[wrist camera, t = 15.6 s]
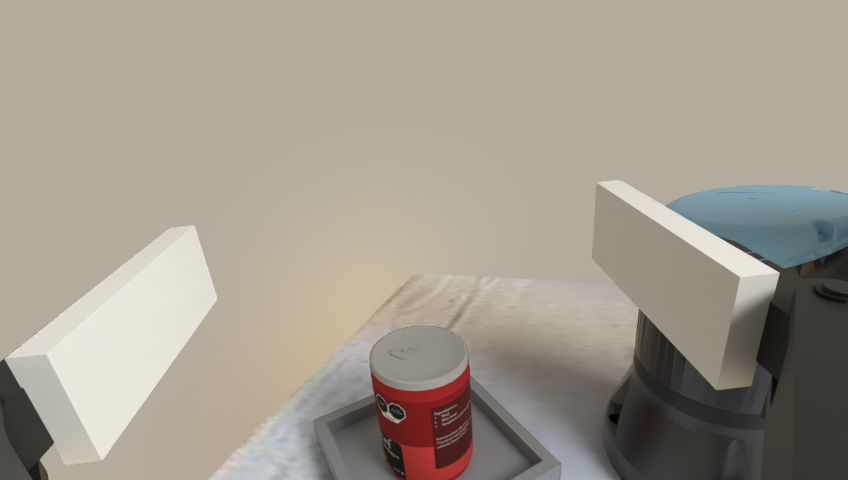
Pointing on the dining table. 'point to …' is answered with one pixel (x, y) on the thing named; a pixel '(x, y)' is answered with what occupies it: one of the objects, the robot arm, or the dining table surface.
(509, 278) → the dining table surface
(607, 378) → the dining table surface
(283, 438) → the dining table surface
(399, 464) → the canned food
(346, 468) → the tray
